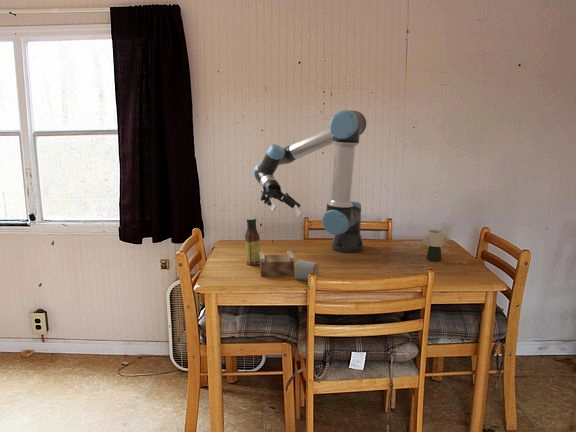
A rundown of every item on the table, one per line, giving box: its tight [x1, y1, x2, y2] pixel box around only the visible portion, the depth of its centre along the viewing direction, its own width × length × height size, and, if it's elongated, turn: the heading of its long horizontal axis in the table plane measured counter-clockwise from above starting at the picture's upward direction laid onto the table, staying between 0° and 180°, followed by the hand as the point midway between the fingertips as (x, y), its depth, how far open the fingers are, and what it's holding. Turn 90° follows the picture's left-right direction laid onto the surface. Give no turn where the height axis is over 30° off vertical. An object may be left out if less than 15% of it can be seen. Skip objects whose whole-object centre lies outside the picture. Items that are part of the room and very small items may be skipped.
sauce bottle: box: [244, 217, 261, 266], centre depth 207 cm, size 7×6×20 cm
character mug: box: [422, 229, 448, 261], centre depth 214 cm, size 11×7×13 cm, turn 98°
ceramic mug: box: [294, 259, 319, 281], centre depth 189 cm, size 11×8×8 cm
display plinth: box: [259, 250, 295, 278], centre depth 196 cm, size 13×10×8 cm
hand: (287, 212), depth 208 cm, fingers open, 13 cm apart
